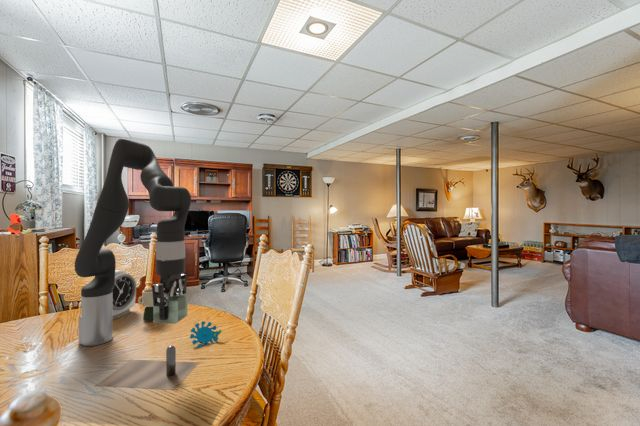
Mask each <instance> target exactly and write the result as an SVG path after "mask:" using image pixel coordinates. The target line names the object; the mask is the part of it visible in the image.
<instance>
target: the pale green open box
mask: <svg viewBox="0 0 640 426" xmlns="http://www.w3.org/2000/svg"><path fill="white" fill-rule="evenodd" d="M157 300H159V299H157ZM164 300H166V298H164ZM186 317H188V295H187V294H183V295H172V298H170V300H169V304H168V319H167V320H160V318H159V306H154V305H153V321H152V322H153V324H170V325H171V324H172V325H173V324H174V325H175V324H177V323H179V322H180V321H182V320H183V319H185V318H186Z"/></svg>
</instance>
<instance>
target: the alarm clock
mask: <svg viewBox="0 0 640 426" xmlns="http://www.w3.org/2000/svg"><path fill="white" fill-rule="evenodd" d="M135 279H136V278H134V277H133V276H132V275H131V274H129V273H127V272H126V271H125V270H121V269H120V270H119V269H118V270H117V269H115V283H114V286H113V320H115V319H118V318H121V317H122V316H125V315H127V314H130V311H131V310H130V309H132V308H133V307H135V305H136V298H137V283H136V280H135Z"/></svg>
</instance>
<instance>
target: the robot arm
mask: <svg viewBox="0 0 640 426" xmlns="http://www.w3.org/2000/svg"><path fill="white" fill-rule="evenodd" d="M124 168H128V169H131V170H136V171H141V172H140V181H141V184H142V185H143V187H144V188H145V189H146V191H147V192H148V197H149V204H150V207H152V209H153V210H155V211H158V212H173V215H172V216H171V217H170V218H167V219H162V220H160V221H158V222H157V224H156V248H155V274H156V275H157V276H159V277H160V278H159V283H157V284H152V287H151V288H152V293H153V305H154V306H159V318H160V320H167V319H168V304H169V300H170V298H172V295H187V294H186V293H187V283H188V275H187V274H188V273H185V272H186V245H185V244H186V243H185V225H186V222H187V217H188V214H189V210H190V208H191V204H192V196H191V192H190V191H189V190H188V188H186V187H182V186H174V183H173V181H172V180H171V178H170V177H169V176H168V175H167V174H166V172H165V171H164V170H163V169H162V168H161V166H160V164H159V162H158V159H157V157H156V155H155V153H154V151H153V150H152V148H151V147H150V146H149V145H147V144H145V143H142V142H138V141H134V140H131V139H127V138H124V137H121V138H118V139H117V140H116V141H115V143H114V146H113V148H112V151H111V155H110V159H109V164H108V168H107V172H106V176H105V179H104V182H103V183H104V184H103V186H102V189H101V192H100V194H99V197H98V200H97V202H96V205H95V208H94V211H93V214H92V215H93V216H92V219H91V222H90V223H89V227H88V229H87V232H86V234H85V238H84V239H83V241H82V244H81V246H80V248H79V249H78V252H77V254H76V256H75V261H74V272H75V273H76V275H77V276H78V277H80V278H92V277H94V278H93V279H92V280H91V281H90V282H89V283H87V284H85V285H83V286H82V288H81V291H80V302H81V303H80V305H81V306H80V309H81V310H80V313H81V315H80V316H78V344H79V345H82V346H84V347H92V346H98V345H102V344H106V343H108V342H110V341H111V340H113V338H114V335H113V333H114V331H113V330H114V325H113V324H114V323H113V322H114V321H113V320H114V319H113V286H114V283H115V270H116V267H117V266H116V263H117V262H116V257H115V254H114V251H112V250H111V249H108V248H102V247H103V246H104V244H105V243H106V241H107V240H108V239H109V238H110V237H111V236H112V235H114V234H115V232H116V231H117V230H119V228H121V226H122V225H123V224H124V222H125V220H126V217H127V214H128V212H129V208H130V201H129V198H128V194H127V193H126V190H125V187H124V184H123V180H122V177H123V176H122V174H123V170H124ZM157 298H159V300H157ZM164 298H166V300H164Z"/></svg>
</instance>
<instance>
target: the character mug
mask: <svg viewBox="0 0 640 426" xmlns="http://www.w3.org/2000/svg"><path fill="white" fill-rule="evenodd" d="M157 299H159V298H157ZM137 304H138V305H139V306H141V305H142V306H143V307H144V310H143V311H144V312H143V320H142V321H146V322H153V293H152V287H151V288H146V289H143V290H142V292H141V296H139V297H137Z"/></svg>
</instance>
